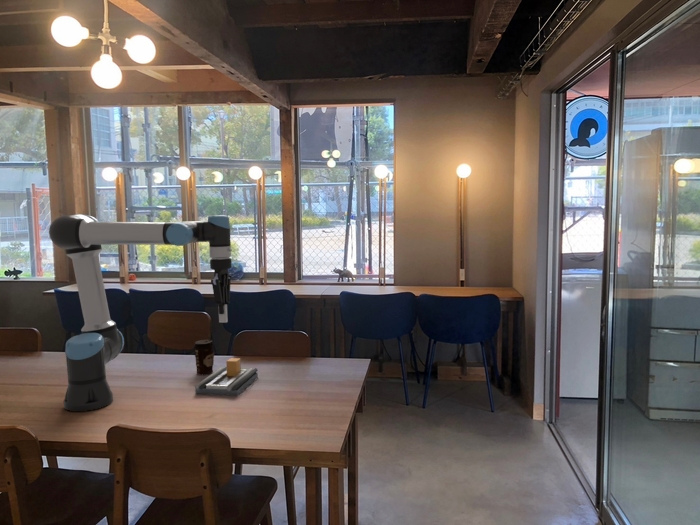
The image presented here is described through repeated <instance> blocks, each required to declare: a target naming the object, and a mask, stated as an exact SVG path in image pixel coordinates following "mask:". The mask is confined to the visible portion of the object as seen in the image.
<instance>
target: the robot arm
mask: <svg viewBox="0 0 700 525" xmlns="http://www.w3.org/2000/svg"><path fill="white" fill-rule="evenodd" d="M48 234H49V239H50V240H51V242H52V243H53V244H54V245H55V246H57V247H58V248H60V249H62V250H63V249H64V250H65V255H66V256H67V257H68V258H70V259H71V260H72V266H73V271H74V275H75V281H76V286H77V290H78V296H79V301H80V306H81V307H80V308H81V312H82V317H83V321H84V325H83V326H82V328H81V329H80V331H81V333H80V334H78V335H73V336H71V337H70V338H69V339H68V340H66V343H65V350H64V353H65V360H66V362H65V363H66V372H67V389H66V392H65V396H64V399H63V408H65V409H67V410H70V411H69V412H71V411H84V412H88V411H87V410H91V411H94V410H93V409H95V410H98V409H97V408H99V409H101V408H100V407H102V408H104V407H103V406H105V407H107V406H109V405H111V404H112V403H113V402H114V395H113V392H112V390H111V387H110V385H109V382H108V380H107V373H106V370H107V369H106V364H108V363H109V362H111V361H112V360H114V359H116V358H117V357H118V356H119V354H120V353H121V352H122V351H123V349H124V345H125V338H124V336H123V333H122V332H121V331H120V330H119V329H118V326H117V323H116V321H114V320H112V319H111V315H110V310H109V303H108V300H107V295H106V294H107V293H106V289H105V283H104V278H103V273H102V269H101V263H100V262H101V261H100V258H99V254H100V253H101V252H102V250H103V249H102V245H105V246H106V245H111V246H112V245H116V246H117V245H118V246H119V245H121V246H123V245H125V246H126V245H127V246H128V245H129V246H130V245H131V246H135V245H138V246H139V245H141V246H142V245H144V246H145V245H146V246H148V245H149V246H150V245H152V246H154V245H155V246H156V245H157V246H163V245H164V246H176V247H177V246H178V247H182V246H183V247H184V246H185V245H188V244H189V245H190V244H192V243H208V244H209V258H210V259H209V266H210V270H213V271H214V274H213V278H212V279H210V282H211V285H212V291H213V297H214V304H215V306H218V323H226V324H227V323H228V321H229V320H228V305H229V304H230V298H231V281H232V277H233V275H232V274H229V271H228V270H230V269H232V266H233V264H232V259H231V256H232V251H233V250H232V247H231V245H232V244H231V242H232V241H231V226H230V217H229V216H228V215H226V214H225V215H224V214H220V215H217V214H216V215H212V214H211V215H209V216H208V217H207V220H202V221H201V220H200V221H199V220H197V221H195V220H194V221H192V220H190V221H189V220H188V221H186V220H184V221H183V220H182V221H176V222H173V221H172V222H160V221H159V222H158V221H157V222H155V221H154V222H152V221H151V222H149V221H147V222H145V221H144V222H143V221H139V222H137V221H134V222H133V221H99V219H97V218H96V217H94V216H91V215H87V214H71V215H70V214H68V215H67V214H66V215H61V216H59V217H57V218H56V219H54V220H53V221H52V222H51V224H50V225H49V229H48ZM111 402H112V403H111ZM108 404H109V405H108ZM106 405H107V406H106ZM65 409H64V410H65ZM67 410H66V411H67Z"/></svg>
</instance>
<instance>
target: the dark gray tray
mask: <svg viewBox="0 0 700 525" xmlns="http://www.w3.org/2000/svg"><path fill="white" fill-rule="evenodd" d="M225 370H227V366H225V367H224V366H221V367H220V368H217V369H216V370H215V371H214V372H213V373H211V374H209V375H207V377H206V378H204V379H203V380H202V381H200V382H199V383H197V384H195V386H194V389H198V388H200V389H203V388H205V387H206V385H207V384H208V383H209V382H211V381H212V380H213V379H215V378H216V377H217V376H219V375H220V374H221V373H223V372H224V371H225ZM255 373H258V368H256V367H254V368H253V367H251V368H249V369H247V372H245V373H244V374H243V375H242V376H241V377H239V378H238V379H237V380H236V381H235V382H233V383H232V384H231V385H230V386H229V387H227V390H228V391H230V390H231V389H232V391H235V390H236V389H237V388H239V387H240V386H241V385H242V384H243V383H244V382H245V381H247V380H248V379H249V378H250V377H251V376H252V375H253V374H255Z"/></svg>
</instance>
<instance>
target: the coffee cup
mask: <svg viewBox="0 0 700 525" xmlns="http://www.w3.org/2000/svg"><path fill="white" fill-rule="evenodd" d="M215 346H216V344H215V343H214V340H213V339H201V340H197V341H196V340H195V342H194V345H193V347H192V349H193V350H194V357H195V365H196V375H198V376H209V375H211V374H212V373H214V372H213V371H214V370H213V368H214V361H215V360H214V357H215V349H214V347H215Z"/></svg>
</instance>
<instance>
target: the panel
mask: <svg viewBox="0 0 700 525" xmlns="http://www.w3.org/2000/svg"><path fill="white" fill-rule="evenodd" d="M247 371H248V369H245V368H241V372H239V373H238V374H237V375H236V376H227V370H225V371H224V372H223V373H221V374H220V375H219V376H217V377H216V378H215V379H213V380H212V381H211V382H209V383H208V384H207V385H206V387H205V388H203V389H200V388H198V389H195V388H194V389H195V394H198V395H216V396H218V395H219V396H232V397H233V396H236V397H238V396H240V394H242V393H243V391H245V390H246V389H247V388H248V387H249V386H250V385H251V384H252V383H254V382H255V381H256V380H257V379H258V372H256V373H255V374H253V375H252V376H251V377H250V378H249V379H248V380H247V381H245V382H244V383H243V384H242V385H241V386H240V387H239V388H237V389H236V390H235V391H232V389H231V390H230V391H228V390H227V387H229V386H230V385H231V384H232V383H233V382H235V381H236V380H237V379H238V378H239V377H241V376H242V375H243V374H244V373H245V372H247Z"/></svg>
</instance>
